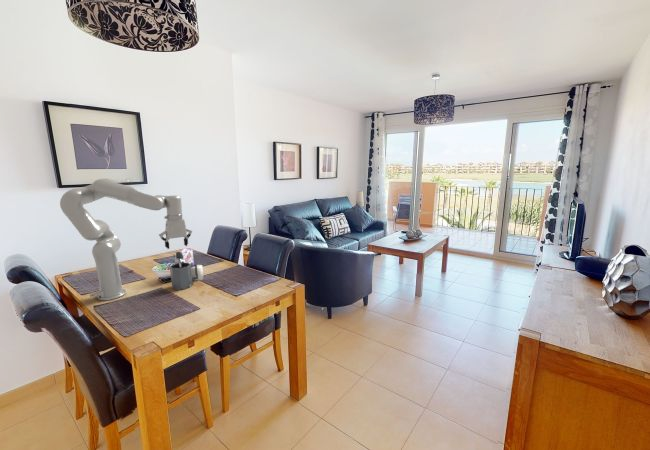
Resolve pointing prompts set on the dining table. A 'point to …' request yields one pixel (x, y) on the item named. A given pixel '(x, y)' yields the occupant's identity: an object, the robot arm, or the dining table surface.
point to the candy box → (186, 256)
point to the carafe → (182, 276)
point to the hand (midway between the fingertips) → (177, 246)
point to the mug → (199, 271)
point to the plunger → (179, 255)
